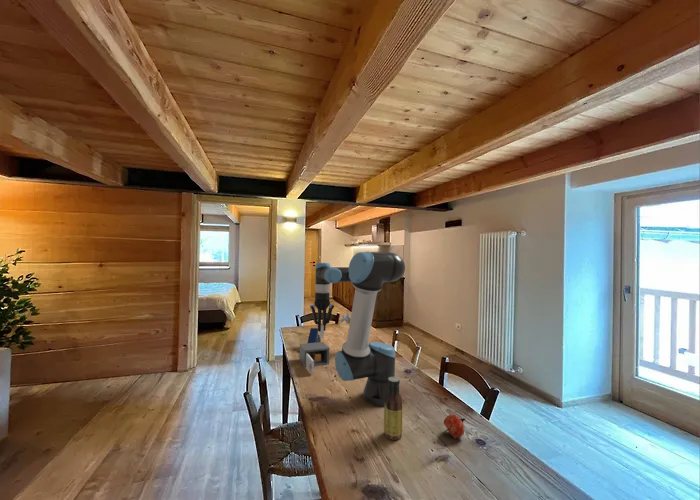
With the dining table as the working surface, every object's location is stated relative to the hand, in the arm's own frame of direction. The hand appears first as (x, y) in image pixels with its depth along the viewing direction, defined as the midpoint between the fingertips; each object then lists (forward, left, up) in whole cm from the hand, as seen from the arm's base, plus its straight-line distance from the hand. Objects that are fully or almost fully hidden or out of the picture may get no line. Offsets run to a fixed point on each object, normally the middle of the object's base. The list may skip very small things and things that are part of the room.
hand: (321, 337), depth 160 cm
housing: (+14, 0, -18) cm, 23 cm away
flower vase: (+20, -26, -18) cm, 38 cm away
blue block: (+36, -6, -18) cm, 41 cm away
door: (+2, +6, -17) cm, 18 cm away
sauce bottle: (-62, -7, -18) cm, 65 cm away
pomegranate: (-69, -27, -18) cm, 76 cm away
